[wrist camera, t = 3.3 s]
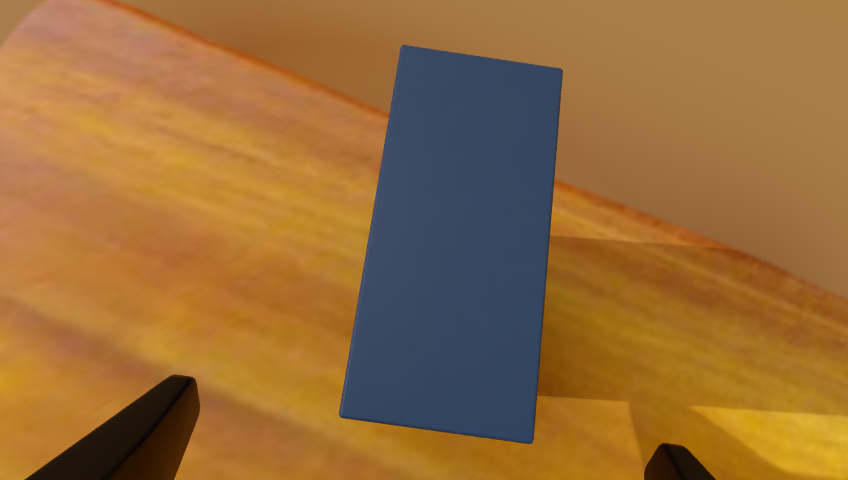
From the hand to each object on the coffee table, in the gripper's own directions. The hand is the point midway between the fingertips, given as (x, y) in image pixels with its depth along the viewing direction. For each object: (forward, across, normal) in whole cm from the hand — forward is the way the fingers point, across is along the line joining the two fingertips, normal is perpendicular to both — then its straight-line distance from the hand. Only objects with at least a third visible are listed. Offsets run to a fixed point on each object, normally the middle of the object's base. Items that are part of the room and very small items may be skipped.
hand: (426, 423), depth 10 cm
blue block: (+10, 0, +5) cm, 11 cm away
